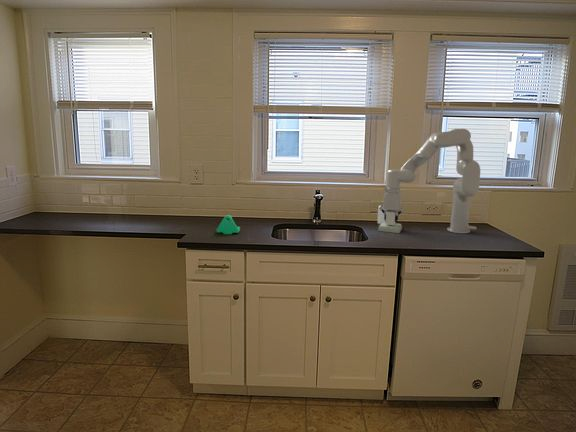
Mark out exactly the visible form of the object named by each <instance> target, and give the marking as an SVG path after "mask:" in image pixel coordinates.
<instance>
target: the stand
mask: <svg viewBox="0 0 576 432" xmlns="http://www.w3.org/2000/svg"><path fill="white" fill-rule="evenodd" d="M402 229H403V225H402V223H395V225H386V223H384V222H382V223H381V224H379V225H378V232H386V233H394V234H400V233H401V231H402Z"/></svg>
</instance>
